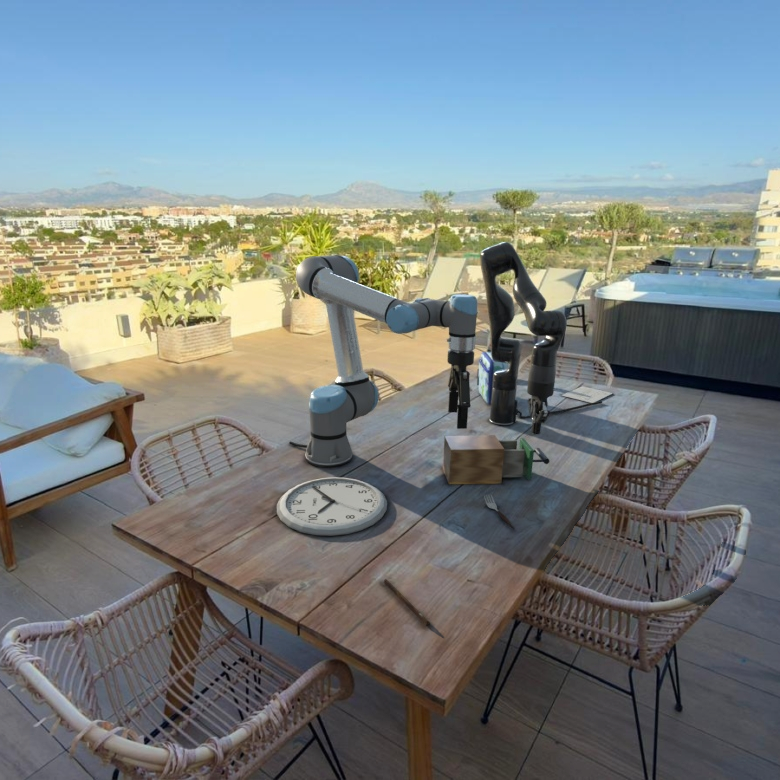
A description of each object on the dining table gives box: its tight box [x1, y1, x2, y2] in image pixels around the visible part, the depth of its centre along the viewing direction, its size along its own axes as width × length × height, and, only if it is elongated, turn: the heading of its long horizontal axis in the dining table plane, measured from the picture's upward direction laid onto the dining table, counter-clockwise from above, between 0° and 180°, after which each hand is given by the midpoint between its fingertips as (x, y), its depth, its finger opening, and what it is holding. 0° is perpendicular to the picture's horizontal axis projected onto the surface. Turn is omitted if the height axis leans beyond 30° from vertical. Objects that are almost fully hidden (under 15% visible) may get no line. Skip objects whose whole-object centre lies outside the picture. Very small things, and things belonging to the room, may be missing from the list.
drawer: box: [498, 437, 550, 480], centre depth 161 cm, size 20×9×9 cm, turn 94°
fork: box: [483, 493, 516, 530], centre depth 139 cm, size 3×16×2 cm, turn 15°
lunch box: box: [476, 351, 510, 406], centre depth 230 cm, size 26×11×21 cm, turn 179°
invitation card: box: [560, 385, 613, 404], centre depth 242 cm, size 21×1×15 cm
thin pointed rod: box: [383, 578, 429, 627], centre depth 106 cm, size 15×1×1 cm, turn 34°
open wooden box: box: [442, 434, 504, 485], centre depth 160 cm, size 16×11×11 cm
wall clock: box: [276, 476, 388, 537], centre depth 142 cm, size 30×2×30 cm
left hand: (457, 419), depth 155 cm, fingers open, 13 cm apart
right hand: (535, 433), depth 159 cm, fingers closed
